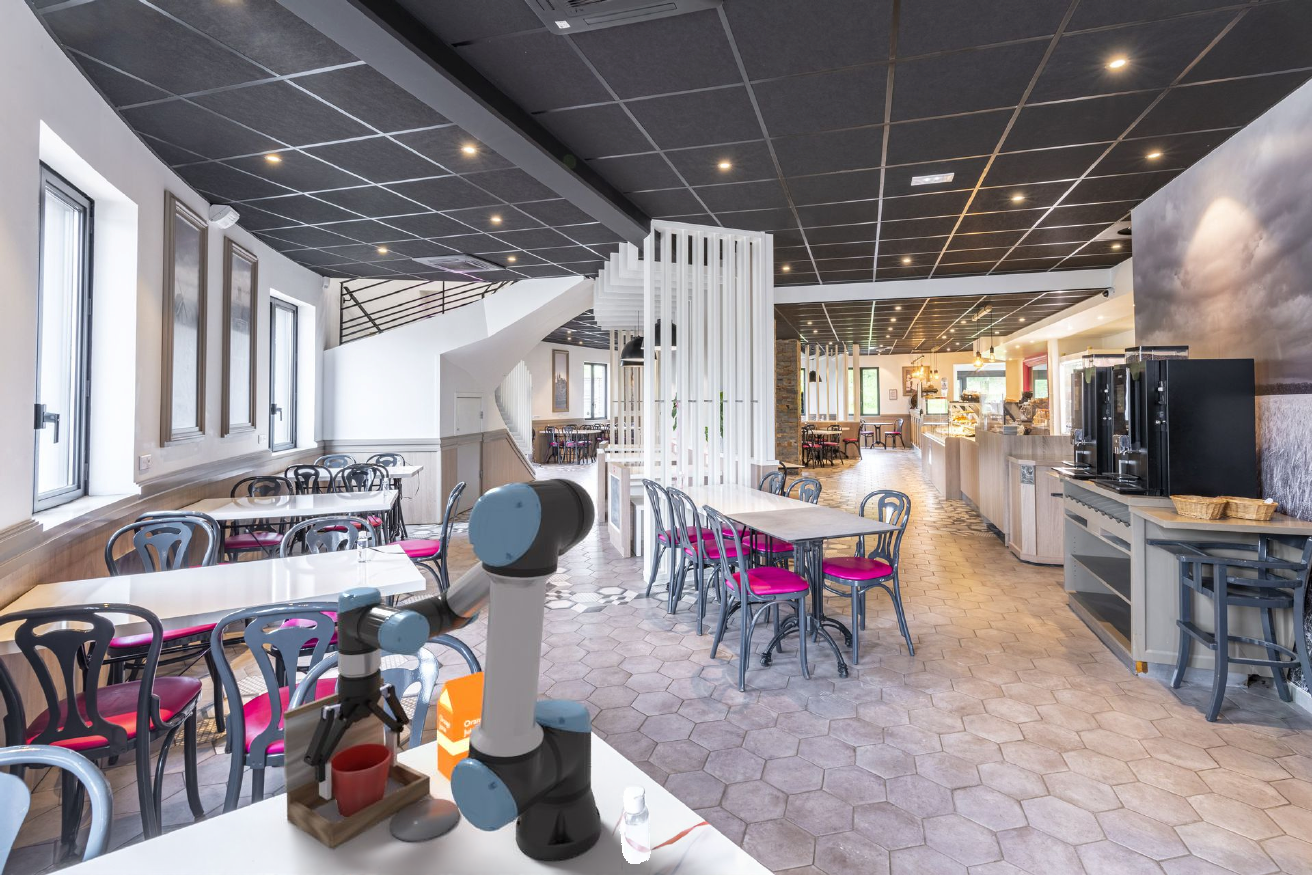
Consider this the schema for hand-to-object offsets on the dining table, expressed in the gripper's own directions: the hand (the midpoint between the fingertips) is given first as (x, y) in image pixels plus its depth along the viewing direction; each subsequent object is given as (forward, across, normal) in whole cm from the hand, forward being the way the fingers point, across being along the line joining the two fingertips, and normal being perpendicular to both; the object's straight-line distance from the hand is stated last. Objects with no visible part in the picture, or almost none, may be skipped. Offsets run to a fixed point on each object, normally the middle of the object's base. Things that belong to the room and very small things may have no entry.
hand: (359, 779), depth 125 cm
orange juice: (+5, -20, +6) cm, 22 cm away
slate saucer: (+5, -4, +14) cm, 16 cm away
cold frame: (+5, 0, -1) cm, 5 cm away
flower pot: (+5, 0, 0) cm, 5 cm away
